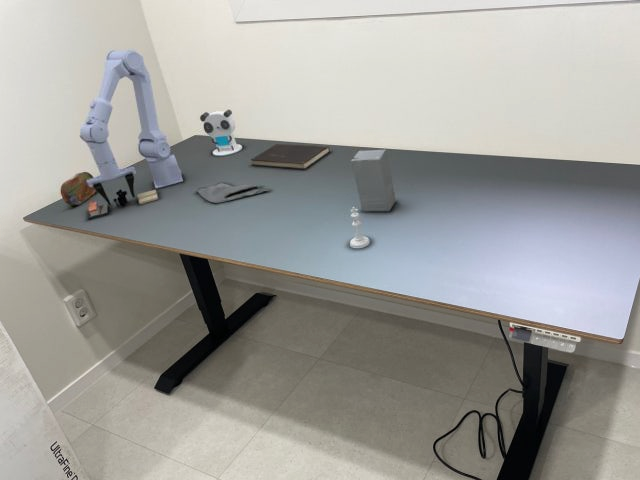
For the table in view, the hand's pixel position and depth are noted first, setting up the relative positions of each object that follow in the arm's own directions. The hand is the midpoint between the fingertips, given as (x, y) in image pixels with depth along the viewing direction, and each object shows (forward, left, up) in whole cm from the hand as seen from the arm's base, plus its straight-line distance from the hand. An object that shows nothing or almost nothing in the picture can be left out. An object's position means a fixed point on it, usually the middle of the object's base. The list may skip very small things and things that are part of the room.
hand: (121, 200), depth 185 cm
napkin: (-8, 0, -2) cm, 8 cm away
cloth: (-32, +16, -2) cm, 36 cm away
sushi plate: (+8, 0, -2) cm, 8 cm away
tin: (+13, -17, -2) cm, 22 cm away
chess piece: (-55, +73, -2) cm, 91 cm away
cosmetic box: (-67, +57, -2) cm, 88 cm away
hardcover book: (-58, 0, -2) cm, 58 cm away
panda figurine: (-40, -29, -2) cm, 49 cm away
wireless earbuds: (0, -1, -2) cm, 2 cm away
